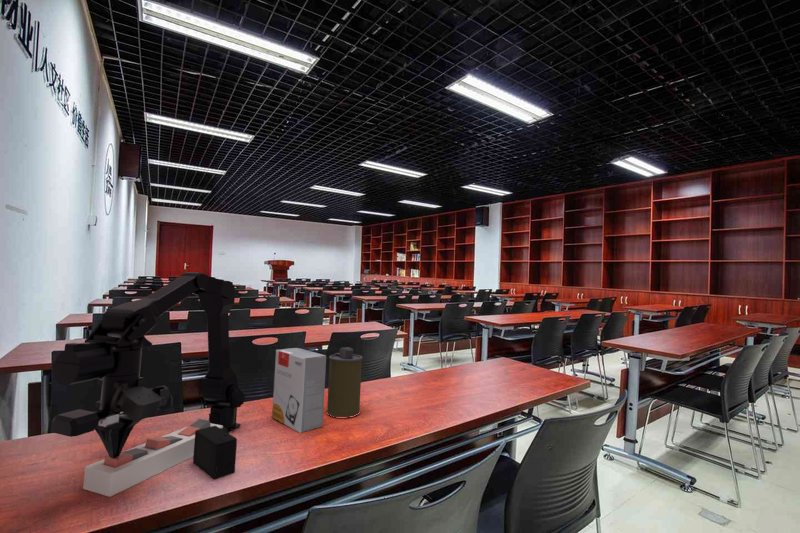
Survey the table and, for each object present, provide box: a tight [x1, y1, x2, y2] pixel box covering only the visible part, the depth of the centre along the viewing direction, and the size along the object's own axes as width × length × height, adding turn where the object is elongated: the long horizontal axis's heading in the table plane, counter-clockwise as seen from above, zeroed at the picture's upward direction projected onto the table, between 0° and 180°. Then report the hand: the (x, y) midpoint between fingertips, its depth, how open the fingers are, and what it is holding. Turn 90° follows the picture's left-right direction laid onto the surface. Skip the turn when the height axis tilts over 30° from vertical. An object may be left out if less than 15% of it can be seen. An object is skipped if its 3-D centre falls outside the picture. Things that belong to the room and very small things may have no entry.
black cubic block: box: [192, 426, 238, 481], centre depth 79 cm, size 10×5×7 cm, turn 50°
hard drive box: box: [271, 347, 327, 434], centre depth 107 cm, size 16×8×20 cm, turn 47°
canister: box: [326, 346, 364, 417], centre depth 117 cm, size 11×10×20 cm
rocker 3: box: [178, 418, 210, 437], centre depth 87 cm, size 6×3×1 cm, turn 162°
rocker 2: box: [145, 436, 182, 449], centre depth 80 cm, size 6×3×1 cm, turn 161°
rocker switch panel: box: [82, 423, 223, 498], centre depth 81 cm, size 29×7×4 cm, turn 161°
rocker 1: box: [104, 448, 148, 468], centre depth 72 cm, size 6×3×1 cm, turn 161°
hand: (114, 457), depth 70 cm, fingers closed
